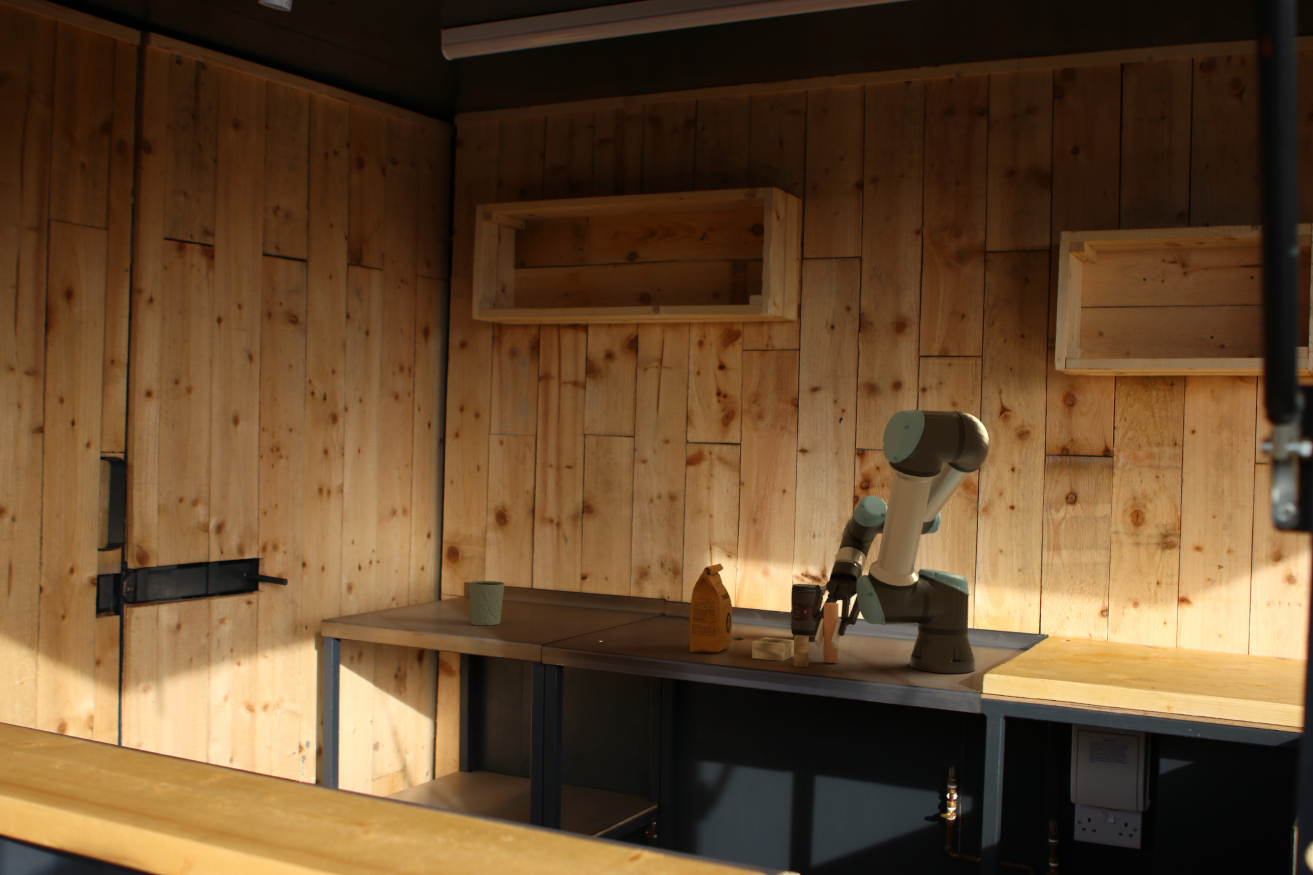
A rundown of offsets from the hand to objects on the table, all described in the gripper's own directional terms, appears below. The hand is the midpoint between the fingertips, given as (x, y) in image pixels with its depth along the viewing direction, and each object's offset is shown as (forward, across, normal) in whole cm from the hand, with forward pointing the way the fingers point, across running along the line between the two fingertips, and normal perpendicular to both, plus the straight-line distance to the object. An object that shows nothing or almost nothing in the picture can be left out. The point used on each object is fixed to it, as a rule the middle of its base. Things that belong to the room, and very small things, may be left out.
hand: (825, 643), depth 268 cm
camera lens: (-20, +17, -27) cm, 37 cm away
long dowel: (+1, 0, -6) cm, 6 cm away
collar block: (+1, +15, -6) cm, 16 cm away
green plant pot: (-2, +106, -9) cm, 107 cm away
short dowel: (+6, +5, -2) cm, 8 cm away
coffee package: (+1, +32, -6) cm, 33 cm away
